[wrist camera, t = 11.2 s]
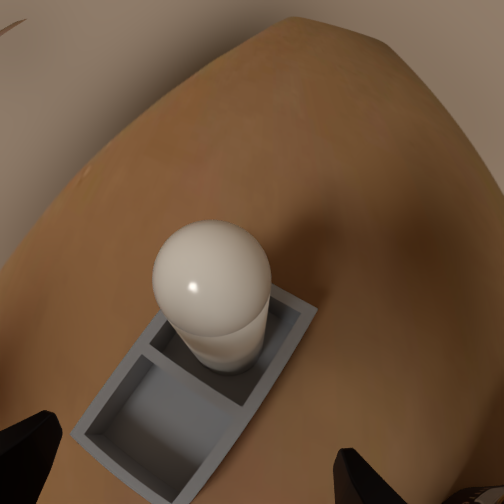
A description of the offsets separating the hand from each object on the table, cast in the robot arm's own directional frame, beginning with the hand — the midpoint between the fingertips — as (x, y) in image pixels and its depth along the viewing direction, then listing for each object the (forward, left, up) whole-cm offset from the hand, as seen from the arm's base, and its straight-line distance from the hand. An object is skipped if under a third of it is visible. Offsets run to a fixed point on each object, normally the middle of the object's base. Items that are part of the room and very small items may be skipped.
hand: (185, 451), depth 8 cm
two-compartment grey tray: (+2, +3, -13) cm, 13 cm away
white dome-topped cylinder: (+6, +3, -12) cm, 14 cm away
